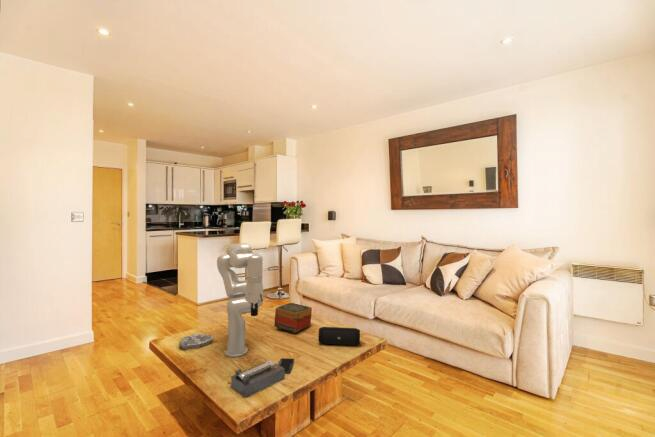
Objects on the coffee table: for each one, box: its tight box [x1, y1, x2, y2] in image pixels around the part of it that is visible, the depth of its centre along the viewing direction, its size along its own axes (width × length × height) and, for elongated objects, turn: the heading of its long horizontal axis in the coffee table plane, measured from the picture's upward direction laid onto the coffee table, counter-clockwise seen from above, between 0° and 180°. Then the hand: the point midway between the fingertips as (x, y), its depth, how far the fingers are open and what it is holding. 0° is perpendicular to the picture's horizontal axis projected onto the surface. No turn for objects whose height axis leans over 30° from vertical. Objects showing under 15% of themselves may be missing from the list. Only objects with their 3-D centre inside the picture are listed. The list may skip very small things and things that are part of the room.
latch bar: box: [237, 359, 277, 380], centre depth 145 cm, size 18×5×2 cm, turn 138°
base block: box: [230, 361, 286, 398], centre depth 146 cm, size 22×12×8 cm, turn 138°
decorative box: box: [274, 302, 313, 334], centre depth 216 cm, size 20×22×16 cm
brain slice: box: [178, 333, 214, 350], centre depth 189 cm, size 20×17×3 cm
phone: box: [278, 357, 295, 375], centre depth 162 cm, size 8×1×15 cm
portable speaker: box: [318, 326, 361, 346], centre depth 192 cm, size 26×10×10 cm, turn 85°
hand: (254, 315), depth 155 cm, fingers closed
